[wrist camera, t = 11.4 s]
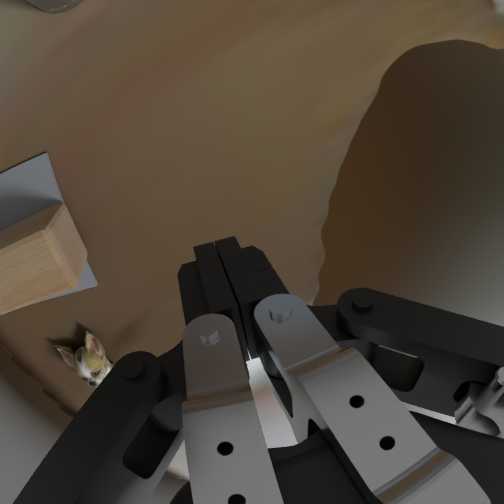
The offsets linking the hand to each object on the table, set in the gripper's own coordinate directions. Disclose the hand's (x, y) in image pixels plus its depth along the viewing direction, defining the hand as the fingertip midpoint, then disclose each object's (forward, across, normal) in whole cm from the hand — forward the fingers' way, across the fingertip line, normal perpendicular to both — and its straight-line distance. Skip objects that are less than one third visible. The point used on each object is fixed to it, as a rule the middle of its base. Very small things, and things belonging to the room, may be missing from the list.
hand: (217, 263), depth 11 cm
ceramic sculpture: (+35, +28, +37) cm, 58 cm away
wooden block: (+30, +18, +10) cm, 36 cm away
